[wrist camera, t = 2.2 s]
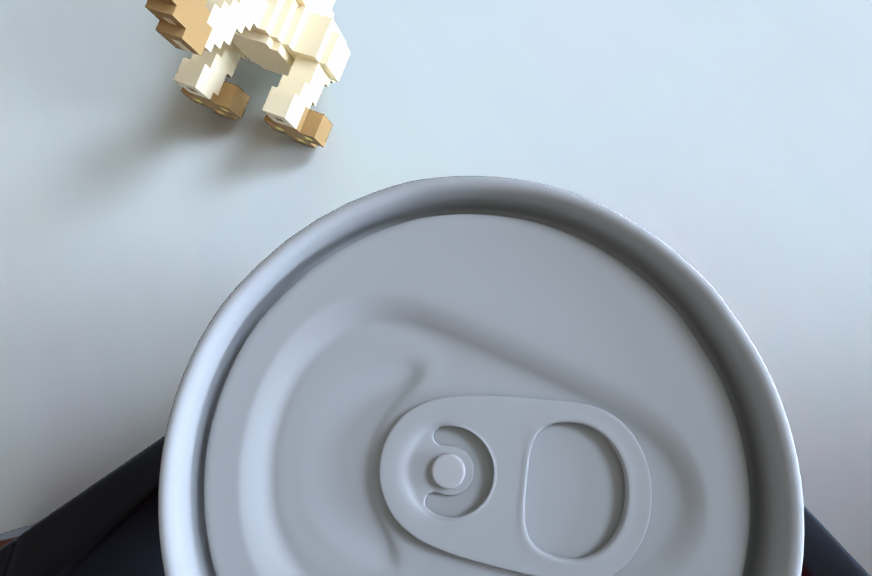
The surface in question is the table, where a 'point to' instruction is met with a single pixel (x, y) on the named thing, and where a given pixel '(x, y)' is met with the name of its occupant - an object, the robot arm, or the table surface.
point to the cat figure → (258, 56)
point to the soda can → (477, 403)
